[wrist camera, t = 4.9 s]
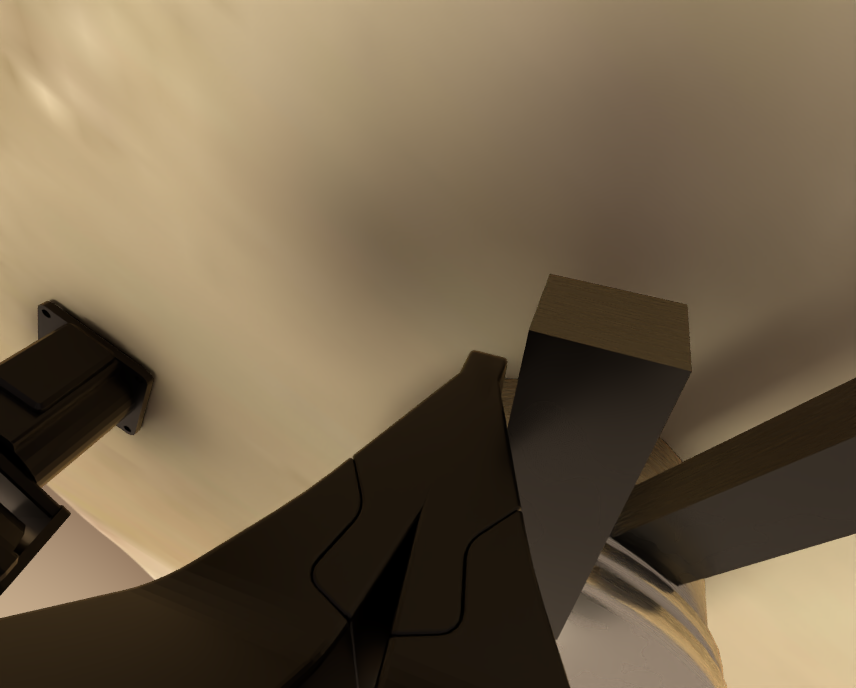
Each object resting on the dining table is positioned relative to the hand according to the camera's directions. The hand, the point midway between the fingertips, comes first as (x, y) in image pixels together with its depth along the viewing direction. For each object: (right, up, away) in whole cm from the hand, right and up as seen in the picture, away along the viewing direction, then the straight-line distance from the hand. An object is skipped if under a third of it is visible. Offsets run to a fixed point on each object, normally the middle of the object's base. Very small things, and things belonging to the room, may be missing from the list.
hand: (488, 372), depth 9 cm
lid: (+1, -7, +6) cm, 9 cm away
